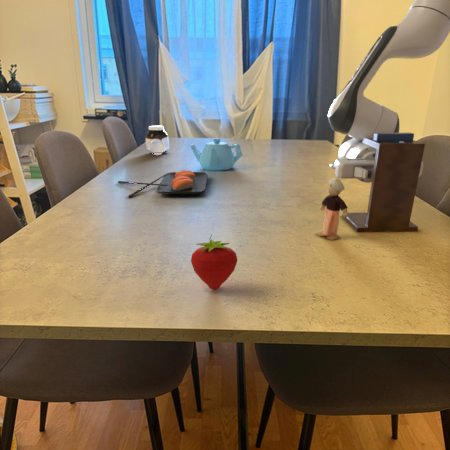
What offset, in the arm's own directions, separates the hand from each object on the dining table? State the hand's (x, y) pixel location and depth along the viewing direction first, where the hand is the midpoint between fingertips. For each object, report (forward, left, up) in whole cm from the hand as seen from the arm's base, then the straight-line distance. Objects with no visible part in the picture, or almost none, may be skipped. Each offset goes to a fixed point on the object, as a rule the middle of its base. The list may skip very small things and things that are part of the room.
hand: (389, 174), depth 96 cm
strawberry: (+40, +32, -12) cm, 53 cm away
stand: (0, -2, -12) cm, 12 cm away
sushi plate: (+56, -44, -12) cm, 72 cm away
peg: (0, -1, -9) cm, 9 cm away
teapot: (+37, -76, -12) cm, 85 cm away
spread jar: (+63, -112, -12) cm, 129 cm away
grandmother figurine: (+14, +7, -12) cm, 20 cm away
